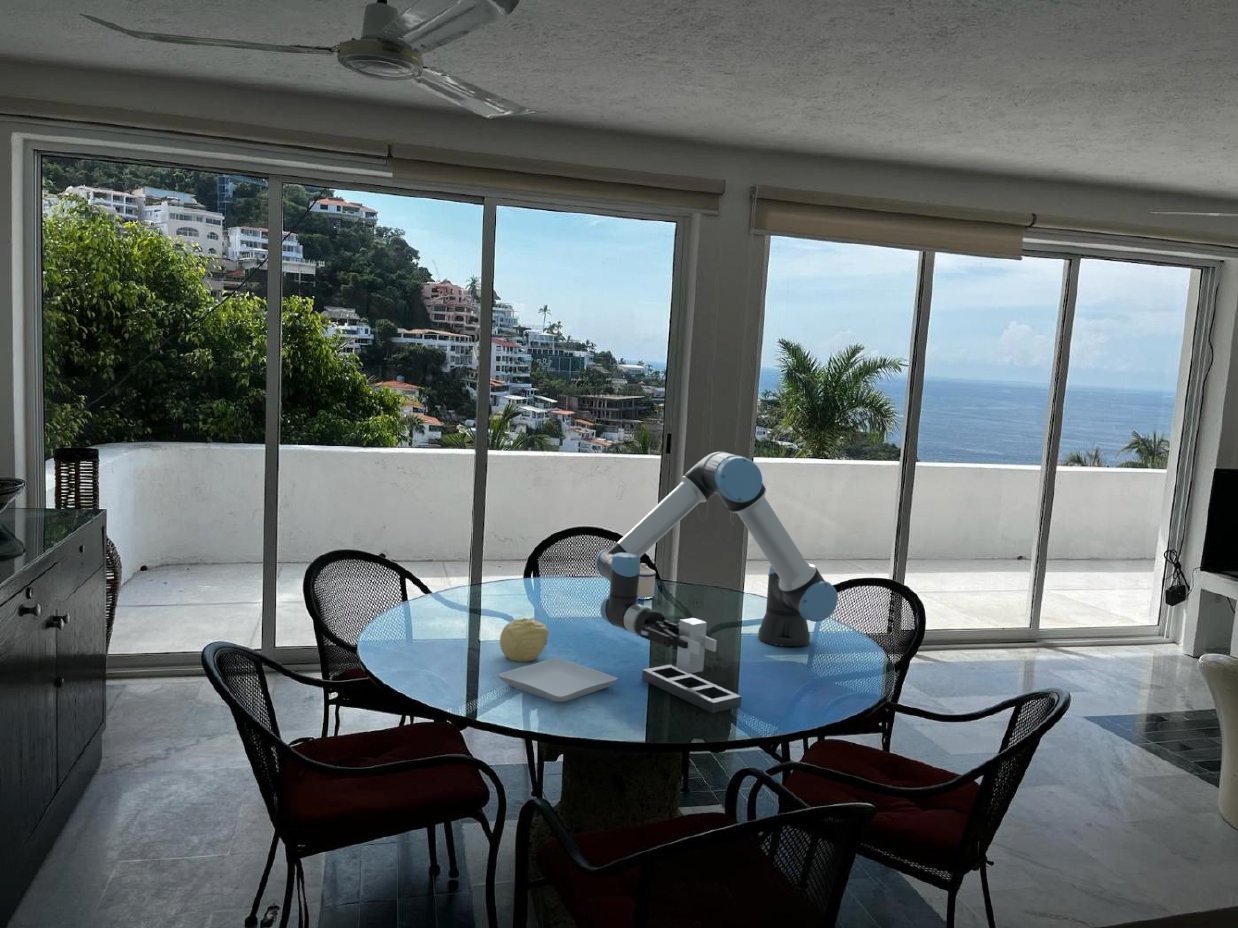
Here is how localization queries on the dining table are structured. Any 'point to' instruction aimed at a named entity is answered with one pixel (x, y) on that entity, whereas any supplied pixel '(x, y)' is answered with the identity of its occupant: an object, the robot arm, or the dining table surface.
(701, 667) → the grey upright post
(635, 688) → the dining table surface
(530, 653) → the yellow round lump
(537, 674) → the salad plate
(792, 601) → the robot arm
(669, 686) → the rack rail
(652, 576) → the teacup with lid
